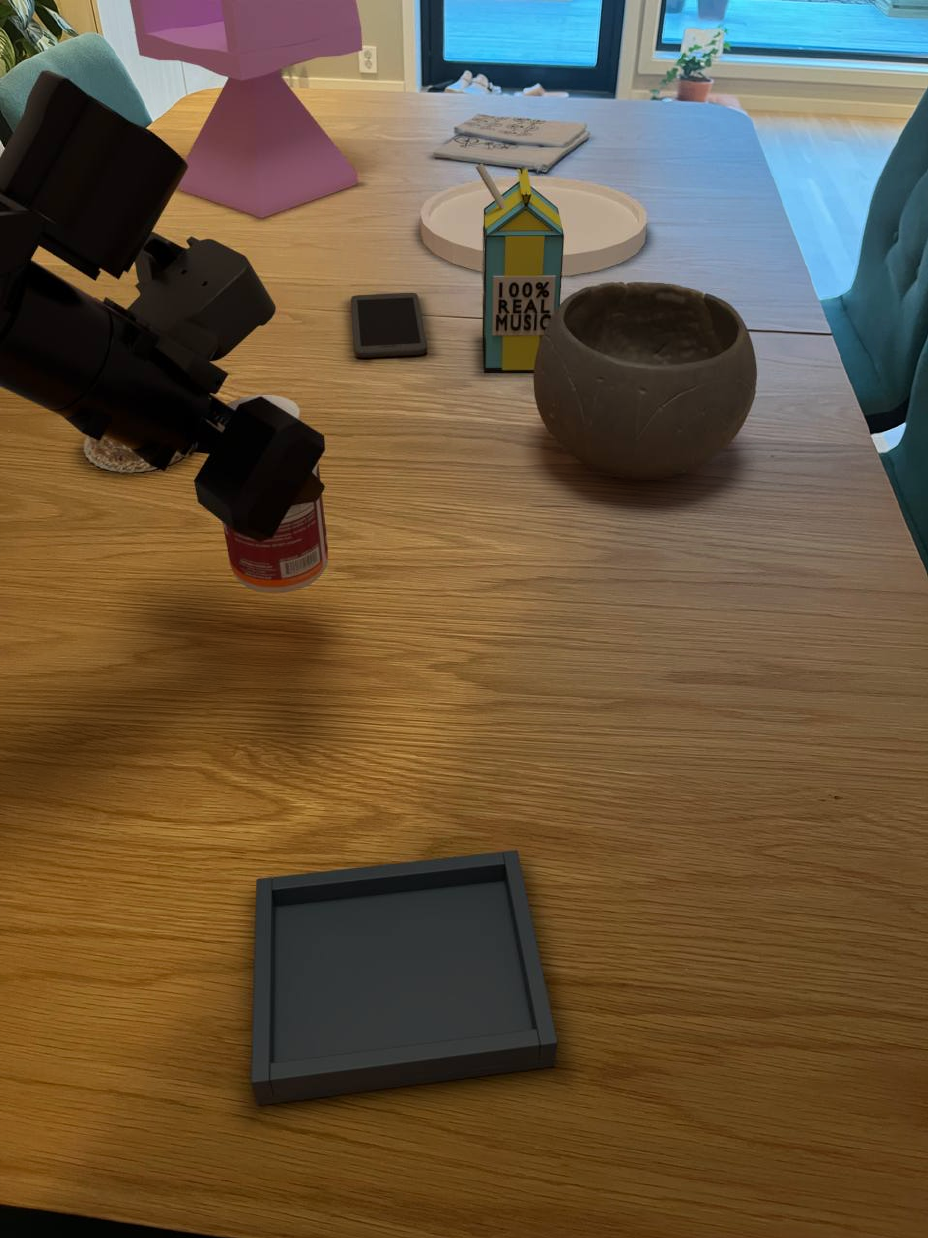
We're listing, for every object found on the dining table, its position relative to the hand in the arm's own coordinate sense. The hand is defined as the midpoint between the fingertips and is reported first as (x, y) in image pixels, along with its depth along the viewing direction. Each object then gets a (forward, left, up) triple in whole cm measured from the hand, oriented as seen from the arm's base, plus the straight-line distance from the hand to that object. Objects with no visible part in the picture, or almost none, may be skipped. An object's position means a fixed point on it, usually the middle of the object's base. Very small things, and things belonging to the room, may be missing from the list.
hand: (288, 471), depth 61 cm
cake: (-14, +28, -13) cm, 34 cm away
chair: (-4, +95, -13) cm, 96 cm away
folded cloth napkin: (+32, +108, -13) cm, 113 cm away
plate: (+29, +73, -13) cm, 79 cm away
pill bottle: (-1, -1, -7) cm, 7 cm away
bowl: (+28, +20, -13) cm, 37 cm away
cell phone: (+9, +48, -13) cm, 50 cm away
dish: (+4, -26, -13) cm, 30 cm away
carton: (+21, +40, -13) cm, 47 cm away
